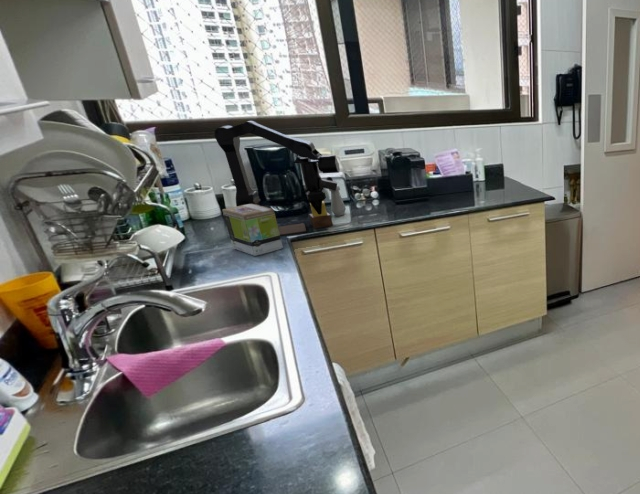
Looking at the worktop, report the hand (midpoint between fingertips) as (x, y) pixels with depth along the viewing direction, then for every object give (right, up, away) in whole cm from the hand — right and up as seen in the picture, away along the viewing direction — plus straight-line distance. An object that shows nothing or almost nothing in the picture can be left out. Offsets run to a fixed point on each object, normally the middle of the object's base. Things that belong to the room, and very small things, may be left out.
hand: (319, 212), depth 189 cm
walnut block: (0, -5, +2) cm, 6 cm away
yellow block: (0, -1, 0) cm, 1 cm away
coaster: (-10, -8, -5) cm, 13 cm away
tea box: (-8, -16, -23) cm, 29 cm away
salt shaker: (0, +1, +16) cm, 16 cm away
